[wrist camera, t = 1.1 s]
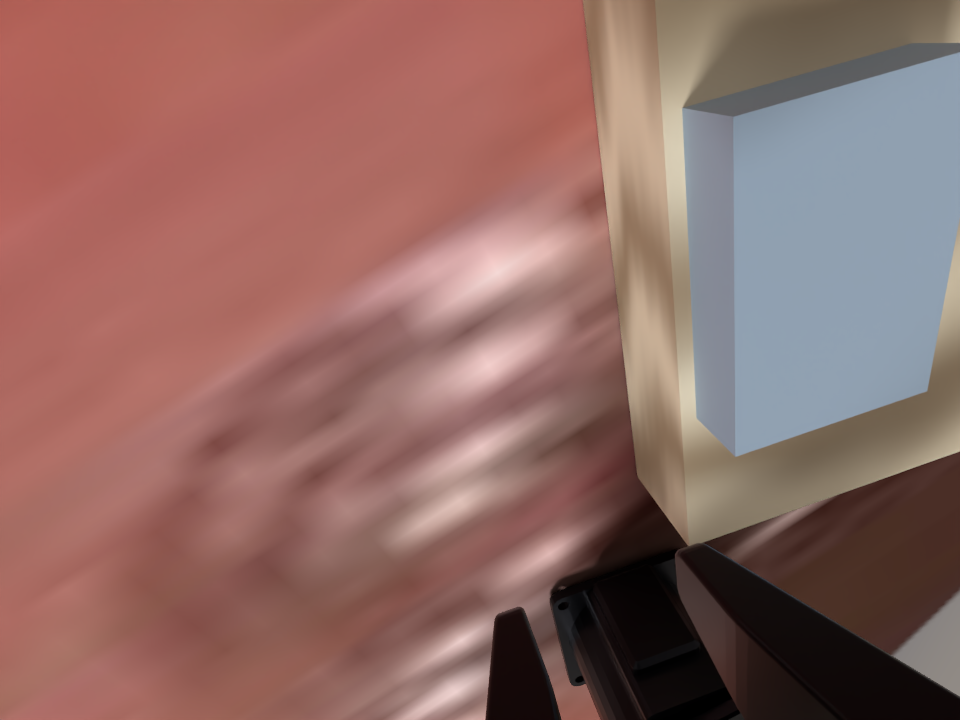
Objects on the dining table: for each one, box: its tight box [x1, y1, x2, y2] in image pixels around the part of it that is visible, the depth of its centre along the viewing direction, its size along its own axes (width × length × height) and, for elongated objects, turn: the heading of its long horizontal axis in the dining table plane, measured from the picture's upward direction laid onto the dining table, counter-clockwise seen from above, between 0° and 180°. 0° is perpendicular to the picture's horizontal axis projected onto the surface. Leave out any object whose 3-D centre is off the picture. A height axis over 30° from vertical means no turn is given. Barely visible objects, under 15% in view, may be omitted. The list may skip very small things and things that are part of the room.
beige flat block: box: [583, 0, 960, 546], centre depth 18 cm, size 20×11×4 cm, turn 13°
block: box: [682, 43, 960, 457], centre depth 15 cm, size 9×6×2 cm, turn 13°
